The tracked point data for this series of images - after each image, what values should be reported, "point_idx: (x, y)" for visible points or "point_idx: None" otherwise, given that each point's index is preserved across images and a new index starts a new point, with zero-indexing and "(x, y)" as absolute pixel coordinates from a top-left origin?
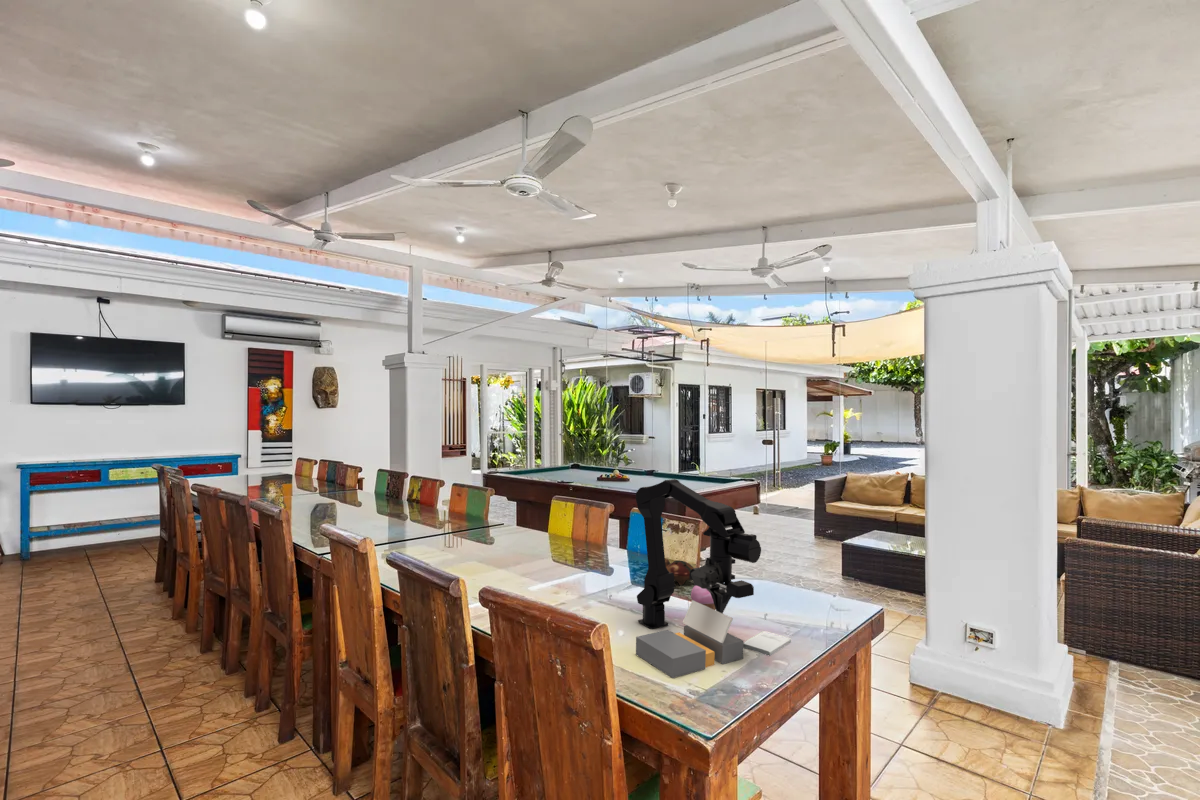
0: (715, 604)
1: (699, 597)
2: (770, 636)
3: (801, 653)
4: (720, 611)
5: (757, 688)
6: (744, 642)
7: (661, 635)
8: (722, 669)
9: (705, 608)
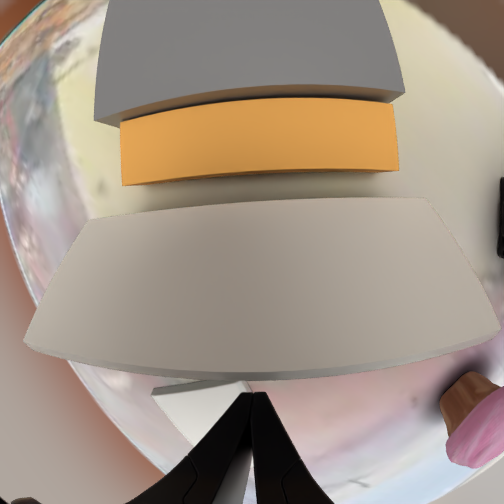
0: (269, 441)
1: (497, 407)
2: None
3: (152, 439)
4: (228, 414)
5: (20, 215)
6: (238, 390)
7: (343, 21)
8: (110, 190)
9: (322, 344)
